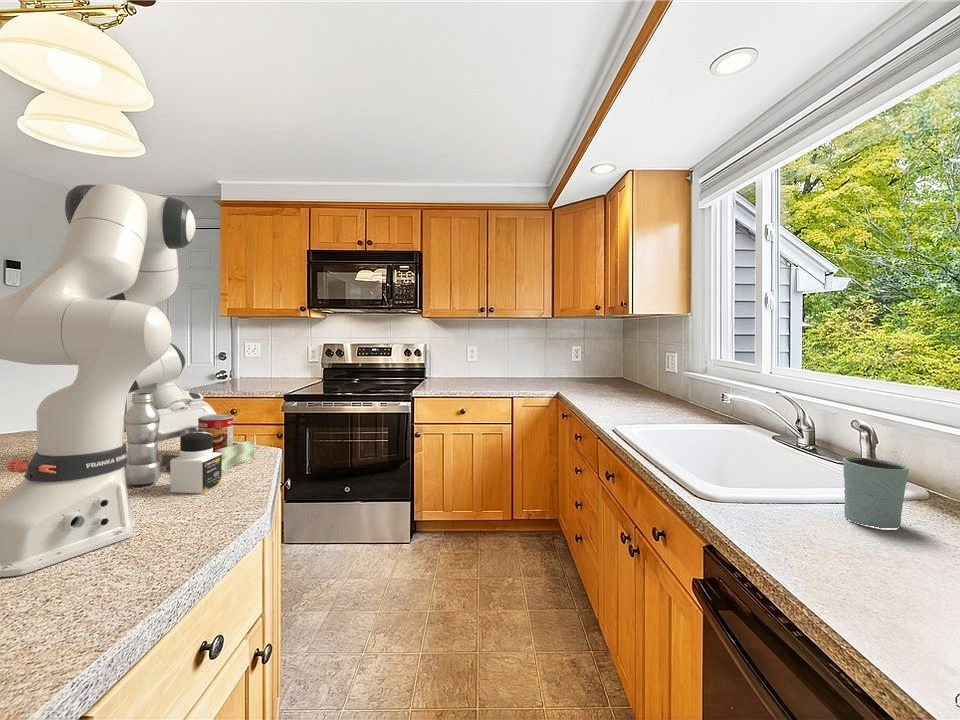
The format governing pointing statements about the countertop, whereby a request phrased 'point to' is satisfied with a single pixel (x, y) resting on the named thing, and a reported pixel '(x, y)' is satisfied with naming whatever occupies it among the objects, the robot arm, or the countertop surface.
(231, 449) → the trap lane
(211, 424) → the canned food
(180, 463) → the medicine bottle
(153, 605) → the countertop surface
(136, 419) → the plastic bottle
